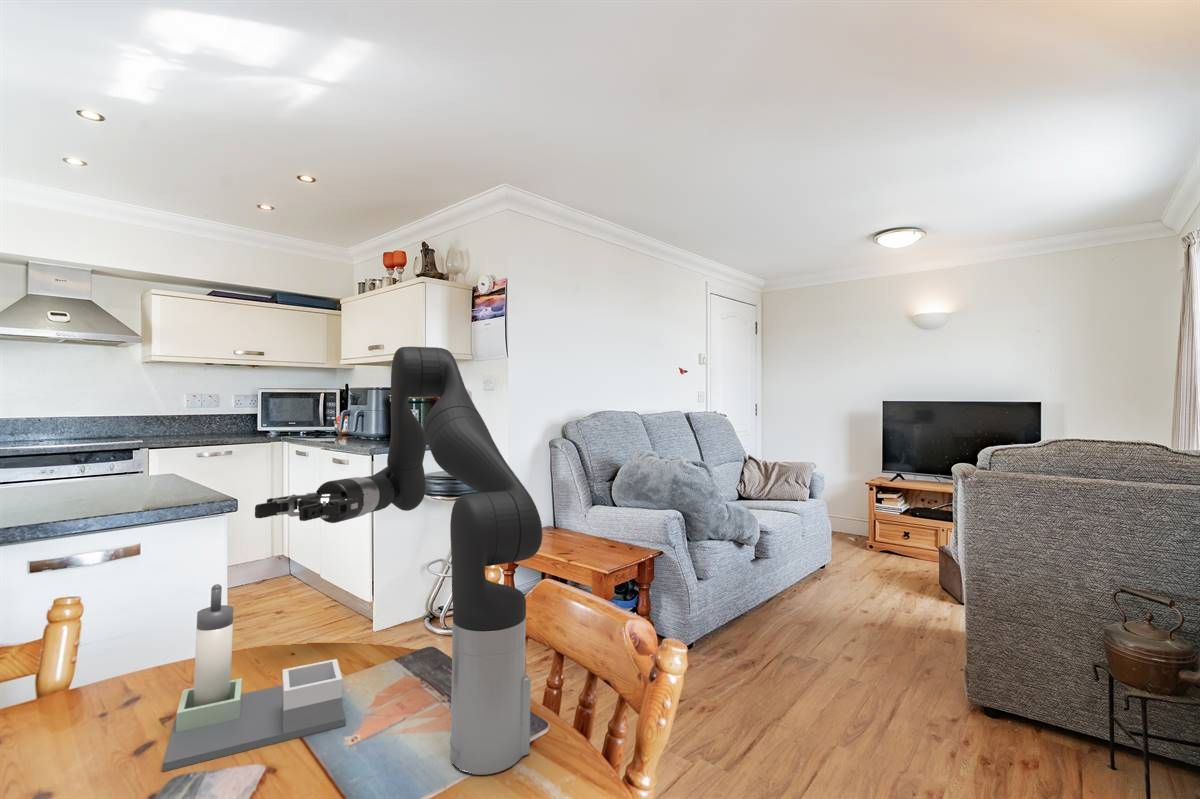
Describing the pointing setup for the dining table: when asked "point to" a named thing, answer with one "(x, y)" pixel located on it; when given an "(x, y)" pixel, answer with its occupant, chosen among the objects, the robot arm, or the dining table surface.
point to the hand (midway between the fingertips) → (278, 513)
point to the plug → (213, 651)
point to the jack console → (257, 715)
